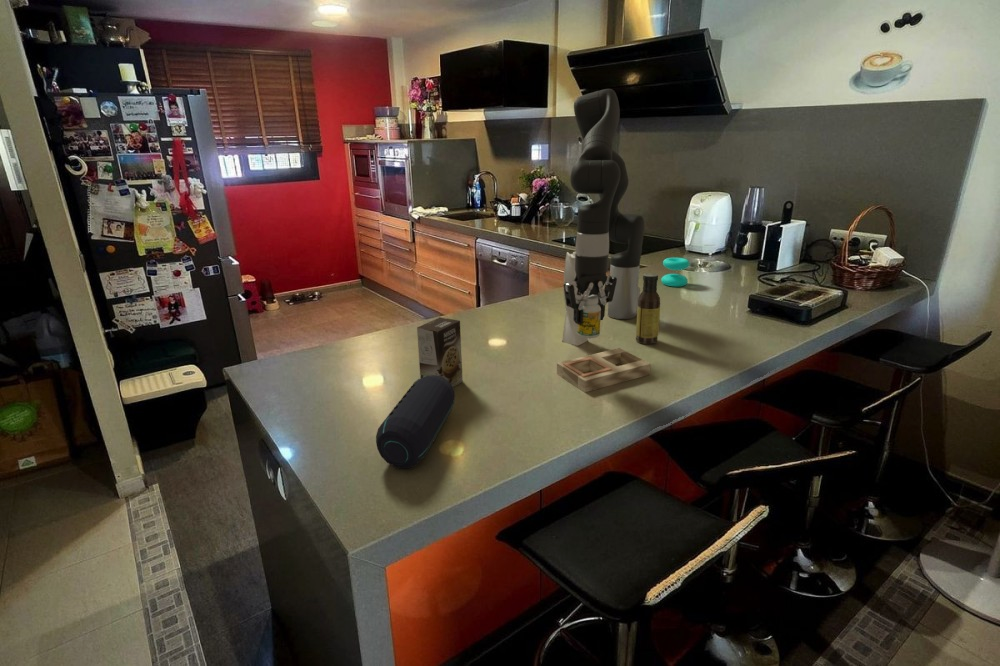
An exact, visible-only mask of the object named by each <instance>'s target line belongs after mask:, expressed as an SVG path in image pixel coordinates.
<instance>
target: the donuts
mask: <svg viewBox="0 0 1000 666" xmlns="http://www.w3.org/2000/svg"><path fill="white" fill-rule="evenodd" d="M690 264H691V263H690V261H689V260H688V259H687V258H684V257H683V258H682V257H667V258H665V259H664V260H663V261H662V265H663V266H664V267H665V268H666V269H667V270H671V271H683V270H686V269H688V268H689V267H690ZM660 282H661V283H662V284H663V285H665V286H668V287H673V288H675V287H676V288H679V287H684V286H686V285H687V284H688V282H689V280H688V278H687V277H686V276H685V275H683V274H680V273H679V274H678V273H668V274H665V275H663V276H662V277H661V281H660Z"/></svg>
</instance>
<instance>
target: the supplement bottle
mask: <svg viewBox="0 0 1000 666" xmlns="http://www.w3.org/2000/svg"><path fill="white" fill-rule="evenodd" d="M582 310H583V324H581V325H578V332H577V333H578V335H579V336H580V337H583V338H588V339H595V338H598V337H599V336H600V333H601V320H600V318H601V307H600V306H599V305H598V296H595V295H591V296H588V299H587V301H585V303H584V306H583V308H582Z"/></svg>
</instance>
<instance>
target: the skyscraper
mask: <svg viewBox="0 0 1000 666" xmlns="http://www.w3.org/2000/svg"><path fill="white" fill-rule="evenodd" d="M575 277H576V272H575V251H573V252H572V253H570V252H568V251H567V252H566V254H565V259H564V270H563V285H564V283H565V282H567V283H570V282H573V281H574V279H575ZM563 285H562V286H563ZM575 289H576V290H577V287H575ZM563 290H564V286H563ZM574 292H575V293H576V291H574ZM581 296H583V294H581ZM563 298H564V299H563V300H564V305H565V310H566V313H565V319H564V325H563V332H562V337H561V338H562V339H561V341H562V343H563V342H564V343H565V344H566V343H567V344H570V345H572V346H573V345H574V346H577V347H578V346H580V345H582V344H584V343H586V342H589V340H588V339H589V338H583V337H580V336H579V335H578V333H577V332H578V324H576V323H575V321H574V319H573V317H574V309H573V308H571V307H568V306H567V305H566V299H565V293H564V292H563Z"/></svg>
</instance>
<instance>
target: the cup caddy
mask: <svg viewBox="0 0 1000 666" xmlns="http://www.w3.org/2000/svg"><path fill="white" fill-rule="evenodd" d="M618 364H621V365H618ZM650 373H651V363H650V362H648V361H646V360H645V359H642V358H640V357H638V356H636V355H634V354H632V353H630V352H629V351H626V350H624V349H622V348H620V347H617V348H614V349H609V350H605V351H601V352H597V353H592V354H589V355H584V356H579V357H576V358H571V359H567V360H563V361H559V362H556V375H558V376H559V377H561V378H562V379H564V380H565V381H567V382H568V383H570V384H571V385H573V386H574V387H575V388H577V389H579V390H580V391H582V392H583V393H588V392H591V391H594V390H598V389H602V388H605V387H609V386H613V385H616V384H621V383H623V382H627V381H630V380H631V381H632V380H635V379H638V378H642V377H646V376H649V375H650Z"/></svg>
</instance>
